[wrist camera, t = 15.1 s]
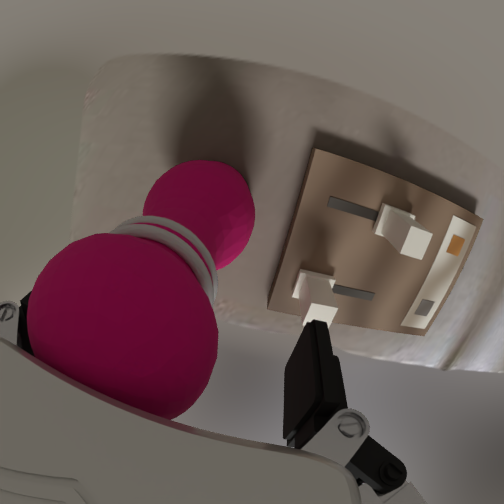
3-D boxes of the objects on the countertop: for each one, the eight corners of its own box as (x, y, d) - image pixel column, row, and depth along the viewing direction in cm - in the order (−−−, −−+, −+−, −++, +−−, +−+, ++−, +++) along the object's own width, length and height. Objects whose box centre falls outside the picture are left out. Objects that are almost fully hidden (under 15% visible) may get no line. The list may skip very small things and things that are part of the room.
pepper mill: (253, 150, 20) (141, 362, 2) (259, 239, 23) (241, 517, 5) (163, 160, 20) (-82, 295, 2) (175, 242, 23) (45, 460, 5)
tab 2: (412, 214, 19) (438, 233, 15) (401, 240, 20) (425, 264, 16) (382, 202, 19) (406, 220, 15) (372, 231, 20) (392, 254, 16)
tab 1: (334, 276, 22) (345, 307, 18) (324, 300, 23) (332, 332, 19) (300, 268, 22) (305, 299, 18) (291, 293, 23) (294, 325, 19)
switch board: (474, 214, 20) (484, 219, 19) (419, 327, 26) (424, 336, 24) (312, 147, 19) (316, 148, 18) (267, 299, 25) (267, 310, 24)
